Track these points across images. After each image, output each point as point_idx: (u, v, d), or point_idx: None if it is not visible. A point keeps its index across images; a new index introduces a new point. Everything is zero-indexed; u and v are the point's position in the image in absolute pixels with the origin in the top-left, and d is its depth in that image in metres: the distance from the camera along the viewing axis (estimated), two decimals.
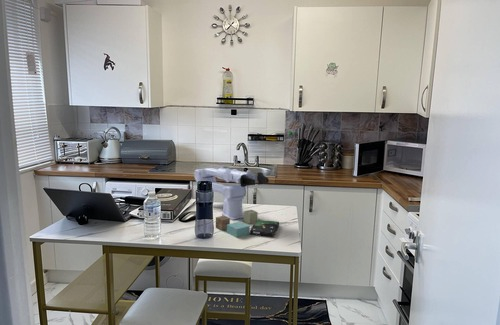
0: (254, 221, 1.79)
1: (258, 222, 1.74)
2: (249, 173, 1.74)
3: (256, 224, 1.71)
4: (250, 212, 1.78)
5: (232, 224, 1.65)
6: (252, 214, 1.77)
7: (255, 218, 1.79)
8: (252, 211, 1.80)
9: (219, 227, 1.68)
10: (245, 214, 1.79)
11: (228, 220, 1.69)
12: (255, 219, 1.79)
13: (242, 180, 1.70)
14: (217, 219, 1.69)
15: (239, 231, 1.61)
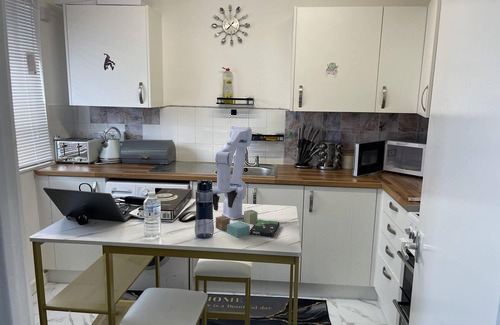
0: (254, 221, 1.79)
1: (258, 222, 1.74)
2: (226, 191, 1.65)
3: (256, 224, 1.71)
4: (250, 212, 1.78)
5: (232, 224, 1.65)
6: (252, 214, 1.77)
7: (255, 218, 1.79)
8: (252, 211, 1.80)
9: (219, 227, 1.68)
10: (245, 214, 1.79)
11: (228, 220, 1.69)
12: (255, 219, 1.79)
13: None
14: (217, 219, 1.69)
15: (240, 231, 1.61)
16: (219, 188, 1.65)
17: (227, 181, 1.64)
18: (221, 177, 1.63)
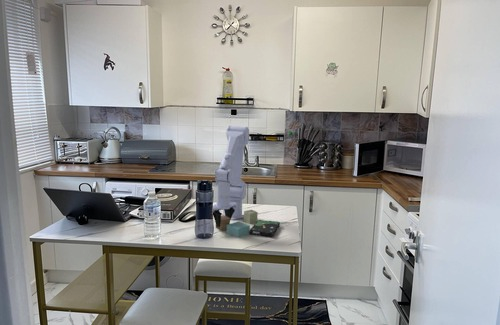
0: (254, 221, 1.79)
1: (259, 222, 1.74)
2: None
3: (256, 224, 1.71)
4: (250, 212, 1.78)
5: (232, 224, 1.65)
6: (252, 214, 1.77)
7: (255, 218, 1.79)
8: (252, 211, 1.80)
9: (219, 227, 1.68)
10: (245, 214, 1.79)
11: (228, 220, 1.69)
12: (255, 219, 1.79)
13: None
14: None
15: (240, 231, 1.61)
16: (219, 205, 1.66)
17: (227, 198, 1.66)
18: (221, 194, 1.65)
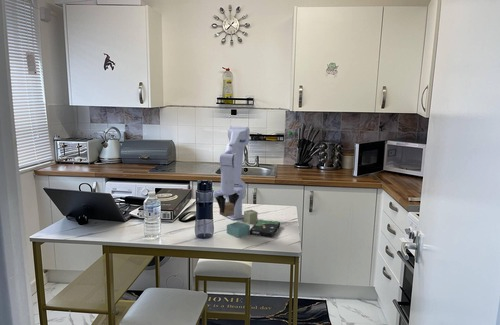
0: (254, 221, 1.79)
1: (259, 222, 1.74)
2: None
3: (257, 224, 1.71)
4: (250, 212, 1.78)
5: (232, 224, 1.64)
6: (252, 214, 1.77)
7: (255, 218, 1.79)
8: (252, 211, 1.80)
9: (223, 213, 1.66)
10: (245, 214, 1.79)
11: (232, 206, 1.66)
12: (255, 219, 1.79)
13: None
14: None
15: (241, 231, 1.61)
16: (223, 190, 1.63)
17: (231, 183, 1.63)
18: (226, 179, 1.62)
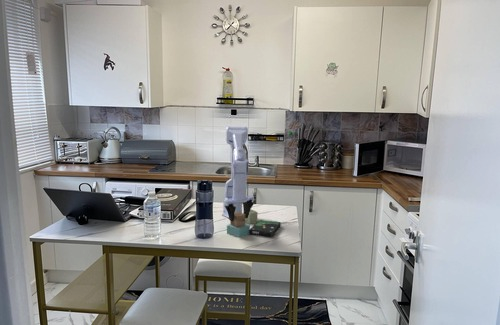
0: (254, 221, 1.79)
1: (259, 222, 1.74)
2: (243, 201, 1.60)
3: (257, 224, 1.71)
4: (250, 212, 1.78)
5: None
6: (252, 214, 1.77)
7: (255, 218, 1.79)
8: (252, 211, 1.80)
9: (234, 224, 1.62)
10: None
11: (243, 217, 1.63)
12: (255, 219, 1.79)
13: None
14: None
15: (241, 231, 1.61)
16: (235, 198, 1.60)
17: (243, 191, 1.59)
18: (240, 187, 1.58)
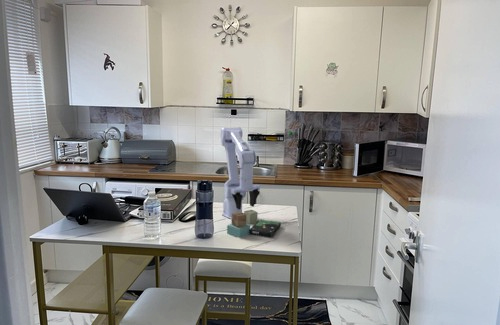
0: (254, 221, 1.79)
1: (259, 222, 1.74)
2: (249, 190, 1.67)
3: (257, 224, 1.71)
4: (250, 212, 1.78)
5: (232, 225, 1.64)
6: (252, 214, 1.77)
7: (255, 218, 1.79)
8: (252, 211, 1.80)
9: (235, 224, 1.62)
10: None
11: (244, 216, 1.63)
12: (255, 219, 1.79)
13: None
14: (233, 215, 1.63)
15: (242, 231, 1.61)
16: (242, 187, 1.67)
17: (250, 180, 1.66)
18: (248, 176, 1.66)
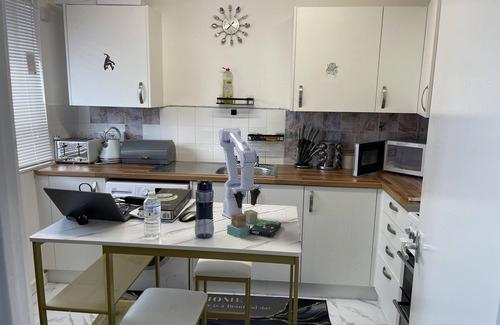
0: (254, 221, 1.79)
1: (260, 222, 1.74)
2: (250, 189, 1.68)
3: (257, 224, 1.71)
4: (250, 212, 1.78)
5: (232, 225, 1.64)
6: (252, 214, 1.77)
7: (255, 218, 1.79)
8: (252, 211, 1.80)
9: (235, 224, 1.62)
10: (245, 214, 1.79)
11: (244, 217, 1.62)
12: (255, 219, 1.79)
13: None
14: (233, 215, 1.63)
15: (242, 231, 1.61)
16: (243, 186, 1.68)
17: (251, 179, 1.67)
18: (249, 175, 1.67)
